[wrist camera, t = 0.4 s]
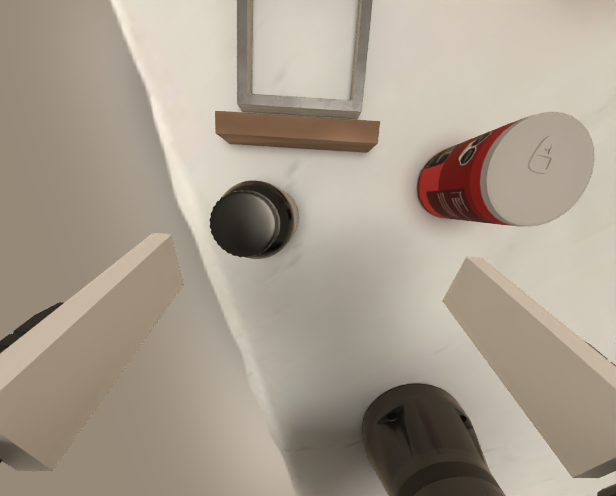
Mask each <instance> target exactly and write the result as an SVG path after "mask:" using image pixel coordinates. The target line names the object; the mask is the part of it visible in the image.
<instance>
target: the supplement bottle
mask: <svg viewBox="0 0 616 496" xmlns="http://www.w3.org/2000/svg"><path fill="white" fill-rule="evenodd" d="M297 223H298V210H297V206H296V204H295V202H294V200H293V199H292V198H291V197H290V195H288V194H287V193H286V192H285V191H283V190H281V189H279V188H277V187H275V186H273V185H271V184H269V183H266V182H262V181H245V182H241V183H239V184H236V185H235V186H233V187H232V188H230V189H229V190H228V191H227V192H226V193H225V194H224V195H223V197H221V199H220V200H219V201H217V202H216V205H215V206H214V207H213V211H212V212H211V218H210V228H211V233H212V235H213V236H214V240H216V241H217V244H218V245H219V246H221V248H222V249H223V250H226V252H227V253H231V254H232V255H233V256H238V257H246V258H251V259H263V258H267V257H270V256H273V255H275V254H276V253H278V252H279V251H281V250H282V249H283V248H284V247H285V246H286V245H287V243H288V242H289V240H290V239H291V237H292V235H293V233H294V231H295V229H296V227H297Z"/></svg>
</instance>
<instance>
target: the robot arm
mask: <svg viewBox="0 0 616 496" xmlns="http://www.w3.org/2000/svg"><path fill="white" fill-rule="evenodd" d="M183 285H184V284H183V280H182V276H181V272H180V267H179V263H178V259H177V256H176V251H175V247H174V243H173V238H172V235H171V234H159V233H152V234H151V235H150V236H148V237H147V238H146V239H145V240H143V241H142V242H141V243H140V244H138V245H137V246H136V247H135V248H133V249H132V250H131V251H129V252H128V253H127V254H126V255H124V256H123V257H122V258H121V259H119V260H118V261H117V262H116V263H114V264H113V265H112V266H111V267H109V268H108V269H107V270H106V271H104V272H103V273H102V274H100V275H99V276H98V277H97V278H95V279H94V280H93V281H92V282H90V283H89V284H88V285H87V286H85V287H84V288H83V289H81V290H80V291H79V292H78V293H77V294H75V295H74V296H72V297H71V298H70V299H69V300H67V301H66V302H65V303H57V304H56V305H54V306H52V307H50V308H48V309H46V310H44V311H42V312H40V313H38V314H36V315H34V316H33V317H32V318H30V319H29V320H28V321H26V322H25V323H24V324H22V325H21V326H20V327H18V328H17V329H16V330H14V333H13V334H9V335H8V336H6V337H5V338H4V339H2V340H1V341H0V463H1V461H3V462H4V463H6V464H8V465H9V466H11V467H13V468H14V469H16V470H23V471H53V470H54V468H55V467H56V465H57V464H58V462H59V461H60V460H61V458H62V457H63V455H64V454H65V453H66V451H67V450H68V448H69V447H70V445H71V444H72V443H73V441H74V440H75V438H76V437H77V436H78V434H79V433H80V431H81V430H82V428H83V427H84V426H85V424H86V423H87V421H88V420H89V418H90V417H91V415H92V414H93V413H94V411H95V410H96V409H97V407H98V406H99V404H100V403H101V401H102V400H103V399H104V397H105V396H106V394H107V393H108V391H109V390H110V389H111V387H112V386H113V384H114V383H115V382H116V380H117V379H118V377H119V376H120V374H121V373H122V372H123V370H124V369H125V367H126V366H127V364H128V363H129V362H130V360H131V359H132V357H133V356H134V355H135V353H136V352H137V350H138V349H139V347H140V346H141V345H142V343H143V342H144V340H145V339H146V338H147V336H148V335H149V333H150V332H151V330H152V329H153V328H154V326H155V325H156V323H157V322H158V320H159V319H160V318H161V316H162V315H163V313H164V312H165V311H166V309H167V308H168V306H169V305H170V303H171V302H172V301H173V299H174V298H175V296H176V295H177V294H178V292H179V291H180V289H181V288H182V286H183ZM443 302H444V304H445V305H446V306H447V308H448V309H449V311H450V312H451V313H452V315H453V316H454V317H455V319H456V320H457V321H458V323H459V324H460V326H461V327H462V328H463V330H464V331H465V332H466V334H467V335H468V336H469V338H470V339H471V340H472V342H473V343H474V345H475V346H476V347H477V349H478V350H479V351H480V353H481V354H482V355H483V357H484V358H485V359H486V361H487V362H488V364H489V365H490V366H491V368H492V369H493V370H494V372H495V373H496V374H497V376H498V377H499V378H500V380H501V381H502V383H503V384H504V385H505V387H506V388H507V389H508V391H509V392H510V393H511V395H512V396H513V397H514V399H515V400H516V402H517V403H518V404H519V406H520V407H521V408H522V410H523V411H524V412H525V414H526V415H527V416H528V418H529V419H530V421H531V422H532V423H533V425H534V426H535V427H536V429H537V430H538V431H539V433H540V434H541V435H542V437H543V438H544V440H545V441H546V442H547V444H548V445H549V446H550V448H551V449H552V450H553V452H554V453H555V454H556V456H557V457H558V459H559V460H560V461H561V463H562V464H563V465H564V467H565V468H566V469H567V471H568V472H569V473H570V475H571V476H572V478H600V477H602V476H605V475H607V474H609V473H611V472H614V471H616V365H615V364H613V363H612V362H609V361H608V360H607V358H606V357H605V356H603V355H602V354H601V353H600V352H598V351H597V350H596V349H595V348H594V347H592V346H591V345H590V344H589V343H587V342H585V341H584V340H582V339H581V338H580V337H579V336H578V335H576V334H575V333H574V332H573V331H571V330H570V329H569V328H568V327H566V326H565V325H564V324H563V323H562V322H560V321H559V320H558V319H557V318H555V317H554V316H553V315H552V314H550V313H549V312H548V311H547V310H546V309H544V308H543V307H542V306H541V305H539V304H538V303H537V302H536V301H534V300H533V299H532V298H531V297H530V296H528V295H527V294H526V293H525V292H523V291H522V290H521V289H520V288H518V287H517V286H516V285H515V284H514V283H512V282H511V281H510V280H509V279H507V278H506V277H505V276H504V275H502V274H501V273H500V272H499V271H498V270H496V269H495V268H494V267H493V266H491V265H490V264H489V263H488V262H486V261H485V260H484V259H483V258H475V257H466V259H465V260H464V262H463V264H462V266H461V268H460V270H459V271H458V273H457V275H456V277H455V279H454V281H453V282H452V284H451V286H450V288H449V290H448V292H447V293H446V295H445V297H444V299H443ZM362 435H363V440H364V444H365V448H366V452H367V455H368V458H369V460H370V462H371V464H372V466H373V468H374V469H375V471H376V473H377V475H378V477H379V479H380V480H381V482H382V484H383V486H384V488H385V489H386V491H387V493H388V495H389V496H506V495H505V494H504V493H503V491H502V490H501V488H500V487H499V485H498V484H497V482H496V481H495V479H494V478H493V476H492V474H491V473H490V471H489V468H488V465H487V463H486V460H485V458H484V455H483V452H482V450H481V447H480V444H479V442H478V439H477V436H476V434H475V431H474V428H473V426H472V423H471V421H470V419H469V418H468V416H467V414H466V413H465V412H464V410H463V409H462V408H461V406H460V405H459V404H458V402H457V401H456V400H455V399H454V398H453V397H452V396H451V395H450V394H448V393H447V392H445V391H444V390H442V389H440V388H437V387H434V386H430V385H423V384H412V385H405V386H401V387H397V388H395V389H392V390H390V391H388V392H386V393H385V394H383V395H382V396H380V397H379V398H378V399H377V400H376V401H375V402H374V403H373V404H372V405H371V406H370V408H369V409H368V411H367V412H366V414H365V417H364V420H363V424H362ZM597 496H616V484H614V485H612V486H609V487H607V488H604V489H602V490H601V491H599V492H598V494H597Z"/></svg>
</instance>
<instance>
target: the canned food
mask: <svg viewBox="0 0 616 496" xmlns="http://www.w3.org/2000/svg"><path fill="white" fill-rule="evenodd" d="M593 166H594V147H593V143H592V139H591V137H590V135H589V133H588V131H587V129H586V128H585V127H584V126H583V124H582V123H581V122H579V121H578V120H577V119H575V118H574V117H572V116H570V115H567V114H564V113H558V112H546V113H540V114H537V115H533V116H529V117H526V118H523V119H521V120H518V121H516V122H513V123H510V124H507V125H505V126H502V127H500V128H497V129H495V130H492V131H490V132H487V133H485V134H483V135H480V136H478V137H475V138H473V139H470V140H468V141H465V142H463V143H460V144H458V145H455V146H453V147H450V148H448V149H445V150H443V151H441V152H440V153H438V154H437V155H435V156H434V157H433V158H432V159H431V160H430V161H429V162H428V164H427V165H426V166H425V168H424V169H423V171H422V173H421V176H420V178H419V183H418V193H419V197H420V200H421V202H422V204H423V205H424V207H425V208H426V209H427V210H428V211H429V212H430V213H432V214H434V215H435V216H438V217H441V218H449V219H457V220H466V221H475V222H483V223H492V224H500V225H512V226H538V225H541V224H545V223H548V222H550V221H552V220H554V219H557V218H558V217H560V216H561V215H563V214H564V213H565V212H567V211H568V210H569V209H570V208H571V207H572V206H573V205H574V204H575V203H576V202H577V201H578V199H579V198H580V197H581V195H582V194H583V192H584V191H585V189H586V187H587V185H588V183H589V180H590V178H591V175H592V171H593Z"/></svg>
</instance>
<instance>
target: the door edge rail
mask: <svg viewBox="0 0 616 496" xmlns="http://www.w3.org/2000/svg"><path fill="white" fill-rule="evenodd" d="M215 125H216V134H217V135H219V136H220V137H221V138H223V139H224V140H225V141H227V142H228V143H229V144H241V145H257V146H273V147H289V148H305V149H321V150H337V151H353V152H368V151H370V150H371V149H372V148H373V147H374V146H375V145H376V144H378V136H379V127H380V121H366V120H350V119H335V118H319V117H303V116H288V115H272V114H257V113H241V112H225V111H215Z"/></svg>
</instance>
